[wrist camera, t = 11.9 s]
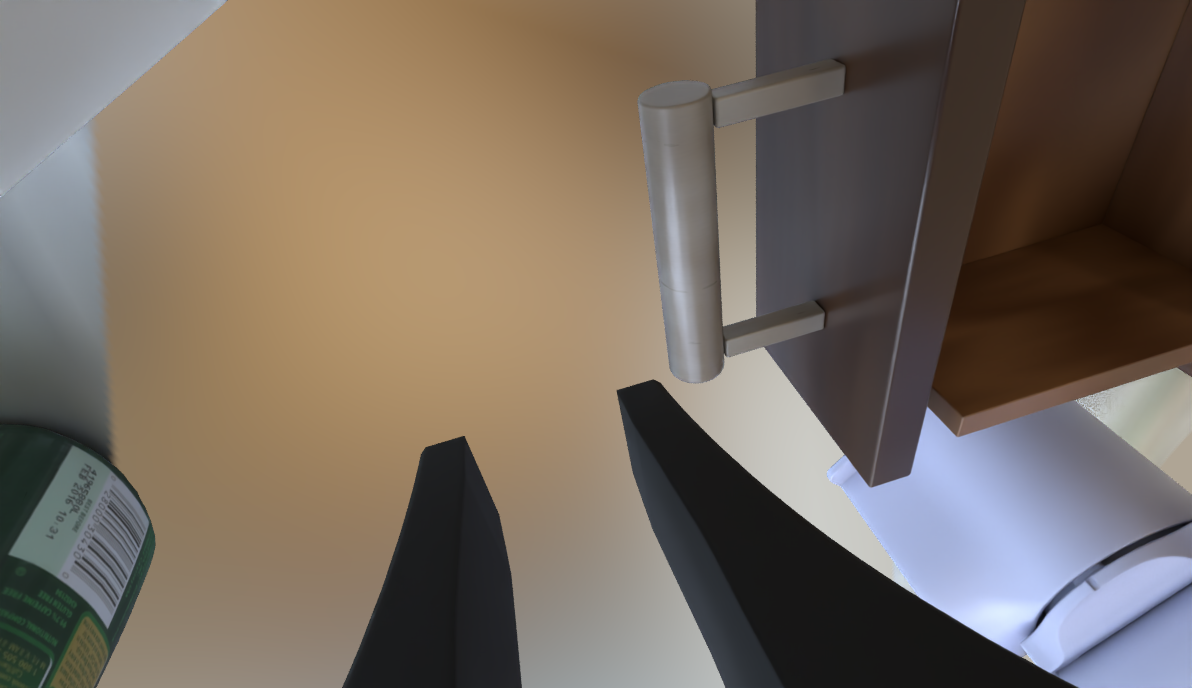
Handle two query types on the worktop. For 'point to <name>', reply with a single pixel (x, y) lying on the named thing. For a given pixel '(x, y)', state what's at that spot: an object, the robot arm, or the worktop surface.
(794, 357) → the drawer
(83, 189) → the worktop surface
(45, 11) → the cylindrical container
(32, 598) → the coffee jar
